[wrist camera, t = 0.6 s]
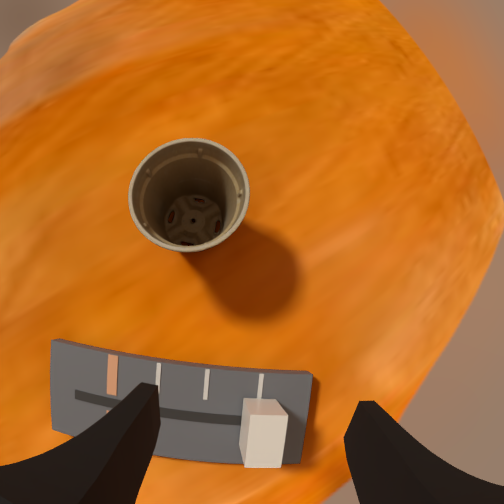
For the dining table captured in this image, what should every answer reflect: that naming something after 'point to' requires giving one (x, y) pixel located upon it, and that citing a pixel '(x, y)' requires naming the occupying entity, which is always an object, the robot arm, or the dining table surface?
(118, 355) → the console
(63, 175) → the dining table surface
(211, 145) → the flower pot
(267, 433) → the fader
